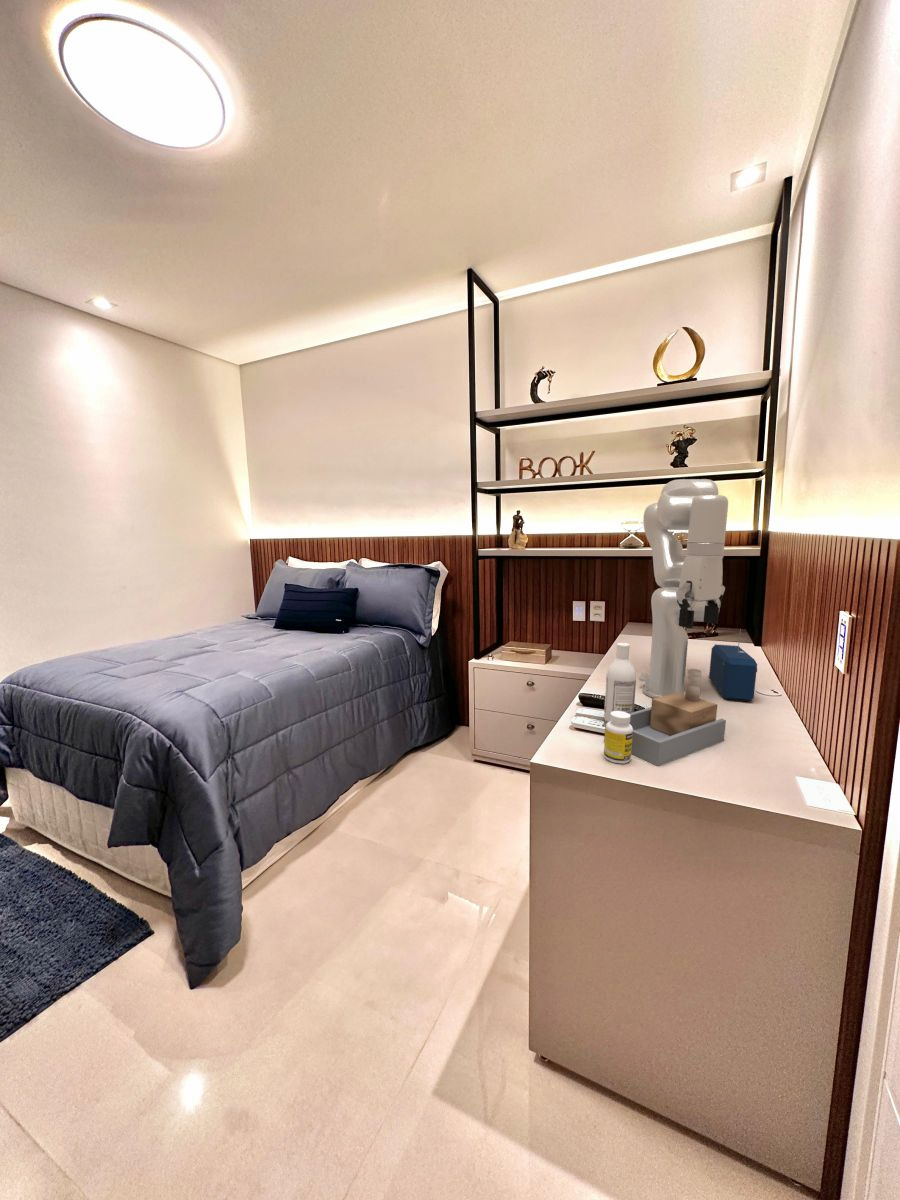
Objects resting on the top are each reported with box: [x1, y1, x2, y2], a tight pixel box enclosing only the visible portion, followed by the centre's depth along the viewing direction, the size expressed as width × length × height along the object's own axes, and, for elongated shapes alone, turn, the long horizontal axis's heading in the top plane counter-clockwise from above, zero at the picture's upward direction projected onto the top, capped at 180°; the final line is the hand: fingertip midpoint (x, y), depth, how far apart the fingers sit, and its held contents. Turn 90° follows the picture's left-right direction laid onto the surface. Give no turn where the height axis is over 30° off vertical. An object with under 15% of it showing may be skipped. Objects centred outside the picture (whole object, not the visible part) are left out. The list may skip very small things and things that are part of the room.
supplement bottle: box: [603, 711, 633, 764], centre depth 105 cm, size 5×5×10 cm
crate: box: [650, 668, 718, 736], centre depth 117 cm, size 10×10×14 cm
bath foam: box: [603, 642, 637, 720], centre depth 124 cm, size 7×7×20 cm
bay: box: [603, 706, 727, 767], centre depth 115 cm, size 14×24×5 cm, turn 122°
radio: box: [708, 628, 758, 702], centre depth 149 cm, size 21×9×20 cm, turn 164°
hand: (698, 625), depth 116 cm, fingers open, 9 cm apart
